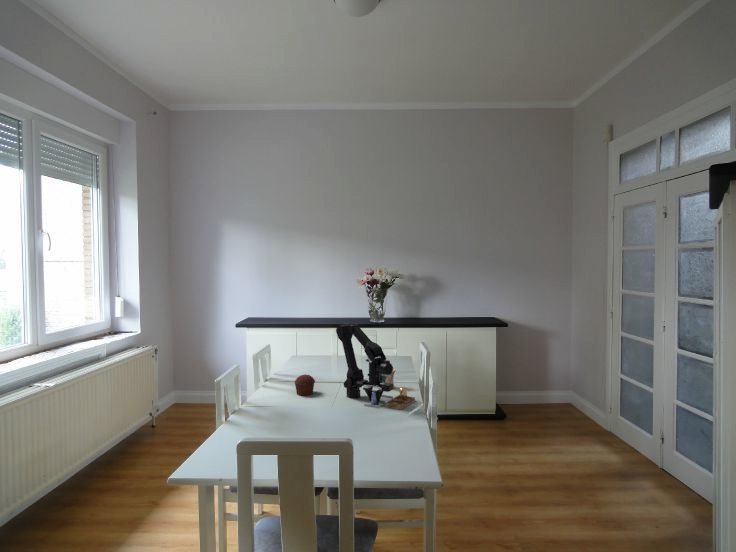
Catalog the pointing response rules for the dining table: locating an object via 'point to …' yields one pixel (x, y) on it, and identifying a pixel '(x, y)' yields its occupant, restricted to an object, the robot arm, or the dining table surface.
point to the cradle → (383, 400)
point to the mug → (389, 377)
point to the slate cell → (374, 398)
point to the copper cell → (403, 393)
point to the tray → (399, 402)
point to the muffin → (304, 385)
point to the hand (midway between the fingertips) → (374, 402)
